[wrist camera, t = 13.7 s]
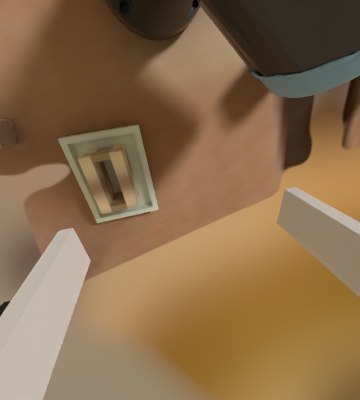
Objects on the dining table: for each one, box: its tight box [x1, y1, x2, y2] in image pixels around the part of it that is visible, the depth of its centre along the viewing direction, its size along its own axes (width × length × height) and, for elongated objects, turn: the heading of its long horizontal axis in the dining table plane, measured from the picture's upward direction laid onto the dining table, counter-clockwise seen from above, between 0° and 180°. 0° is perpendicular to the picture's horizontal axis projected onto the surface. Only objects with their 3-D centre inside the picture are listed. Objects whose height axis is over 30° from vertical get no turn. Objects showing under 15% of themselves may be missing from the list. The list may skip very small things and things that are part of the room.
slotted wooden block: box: [78, 144, 139, 214], centre depth 31 cm, size 12×6×6 cm, turn 8°
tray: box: [58, 124, 159, 223], centre depth 33 cm, size 17×13×3 cm
